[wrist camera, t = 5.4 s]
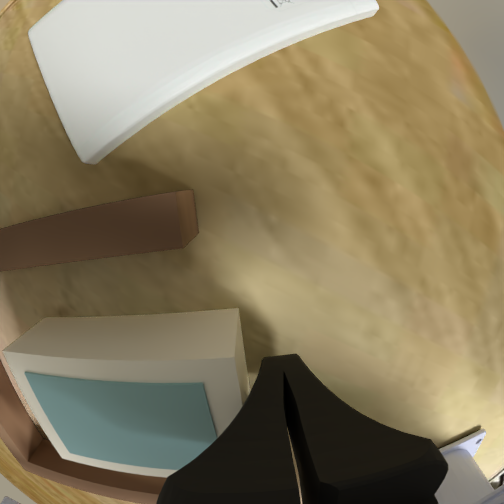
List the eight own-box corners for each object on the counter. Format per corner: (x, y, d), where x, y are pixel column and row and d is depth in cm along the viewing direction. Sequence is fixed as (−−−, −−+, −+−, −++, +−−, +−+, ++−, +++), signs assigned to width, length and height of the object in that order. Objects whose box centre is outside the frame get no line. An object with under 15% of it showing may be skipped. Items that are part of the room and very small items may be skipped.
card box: (255, 420, 12) (256, 480, 9) (87, 415, 13) (61, 459, 9) (238, 306, 11) (234, 358, 8) (46, 316, 11) (0, 351, 8)
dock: (246, 475, 13) (245, 510, 11) (39, 448, 14) (24, 469, 11) (192, 189, 10) (175, 191, 8) (-47, 243, 10) (-77, 253, 8)
